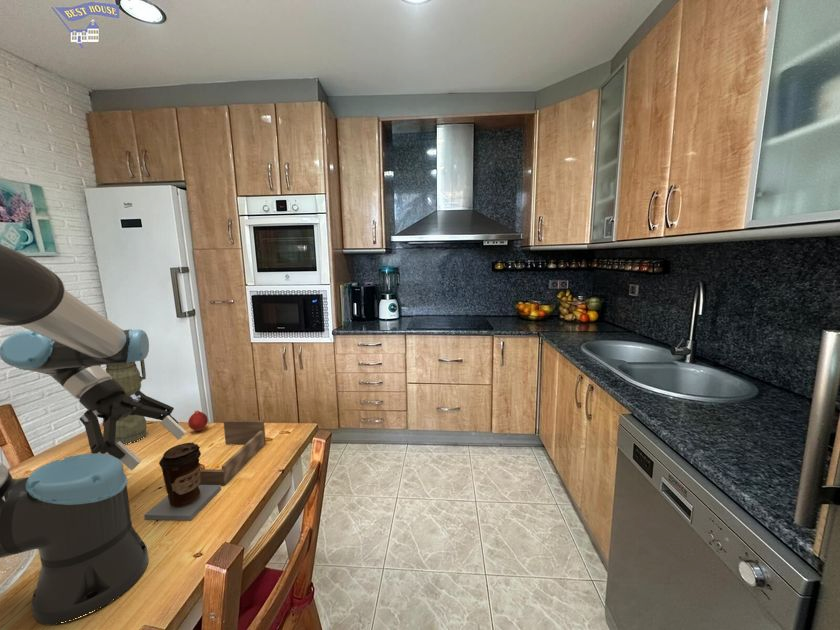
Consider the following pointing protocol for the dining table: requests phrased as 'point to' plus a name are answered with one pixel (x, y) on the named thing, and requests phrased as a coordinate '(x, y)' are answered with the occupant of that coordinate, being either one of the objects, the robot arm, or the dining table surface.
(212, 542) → the dining table surface
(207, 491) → the slate pad
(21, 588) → the dining table surface
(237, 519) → the dining table surface
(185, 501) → the coffee cup
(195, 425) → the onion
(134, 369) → the thermos
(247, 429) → the u-shaped wooden frame
